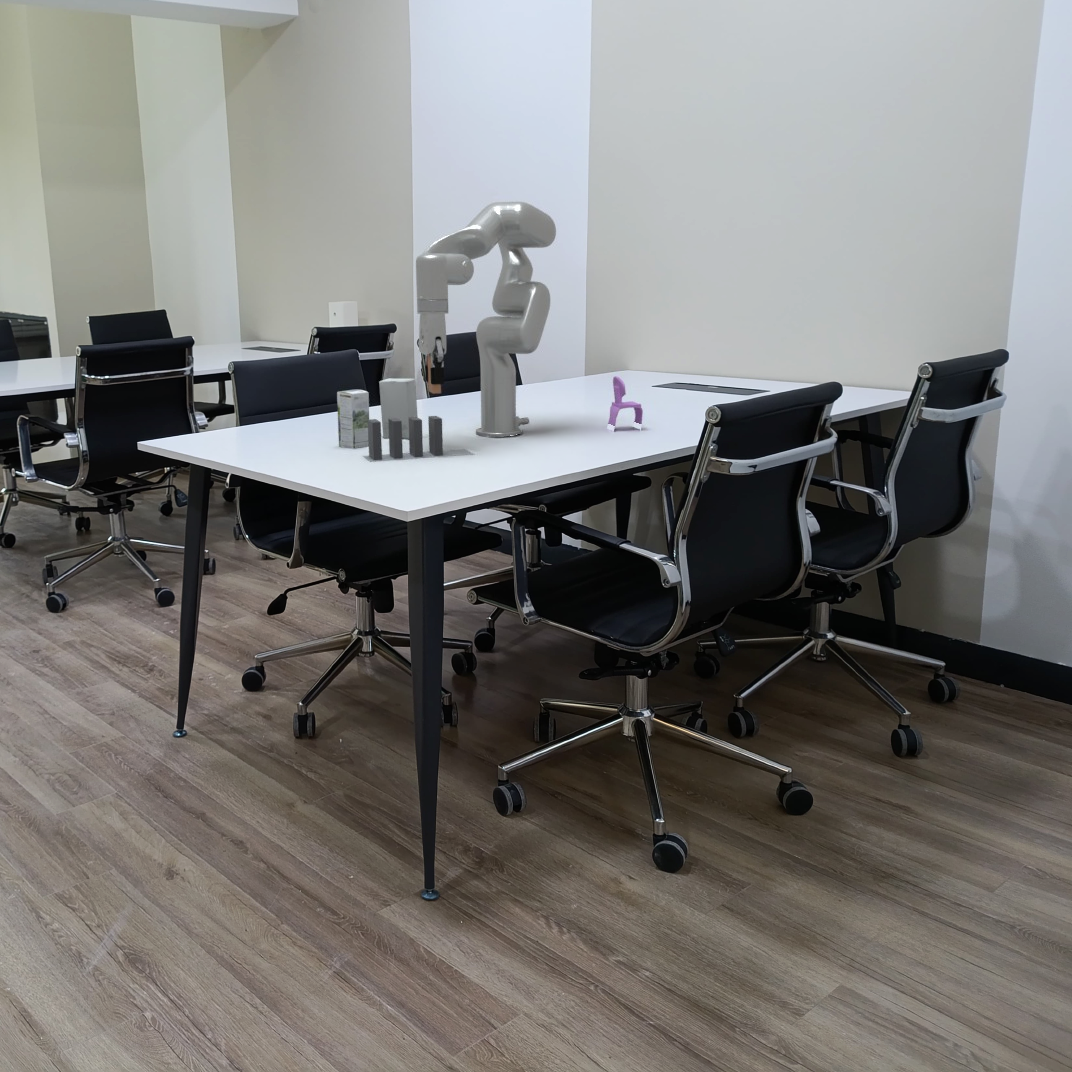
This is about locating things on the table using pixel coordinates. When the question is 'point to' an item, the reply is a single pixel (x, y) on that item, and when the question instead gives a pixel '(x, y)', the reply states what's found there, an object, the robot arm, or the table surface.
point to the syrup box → (353, 418)
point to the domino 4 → (431, 387)
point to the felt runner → (425, 455)
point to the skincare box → (398, 403)
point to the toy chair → (622, 403)
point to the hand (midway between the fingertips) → (434, 382)
